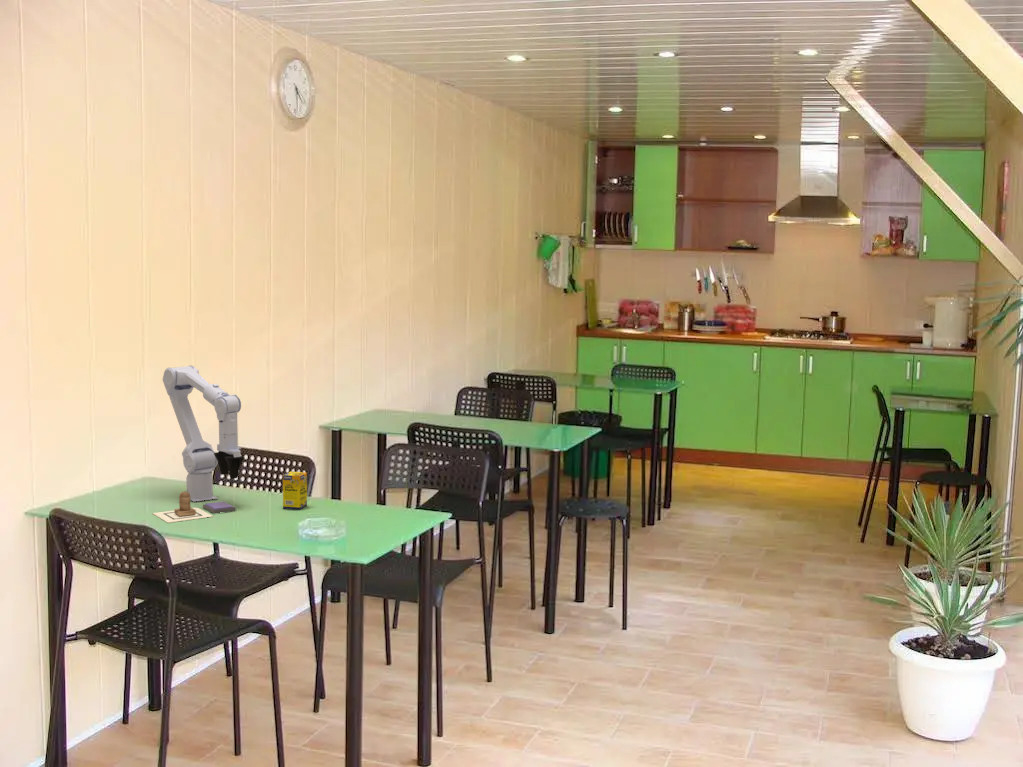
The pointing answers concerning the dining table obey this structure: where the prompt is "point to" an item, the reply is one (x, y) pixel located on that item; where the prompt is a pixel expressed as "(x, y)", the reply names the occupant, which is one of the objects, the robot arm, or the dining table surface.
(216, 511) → the ink pad
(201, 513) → the paper sheet
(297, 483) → the supplement box
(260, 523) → the dining table surface
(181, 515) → the stamp
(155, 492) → the dining table surface
